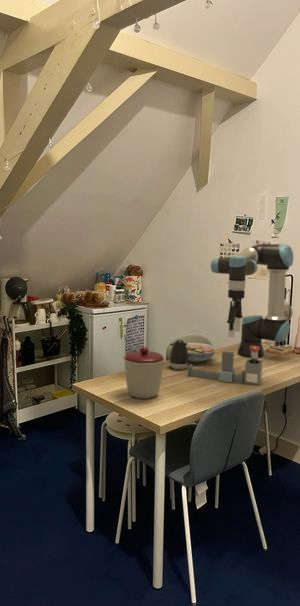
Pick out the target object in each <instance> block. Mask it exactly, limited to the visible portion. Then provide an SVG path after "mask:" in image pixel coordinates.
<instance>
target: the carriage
mask: <svg viewBox="0 0 300 606" xmlns="http://www.w3.org/2000/svg"><path fill="white" fill-rule="evenodd" d="M221 353H222V354H221V369H220V370H219V371H218V372H219V380H218V381H219V382H224V383H230V384H231V383H233V382H232V376H233V374H236V373H235V372H236V369H234V356H235V355H234V354H235V352H234V351H225V350H224V351H222V352H221Z"/></svg>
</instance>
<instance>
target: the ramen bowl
mask: <svg viewBox="0 0 300 606" xmlns="http://www.w3.org/2000/svg"><path fill="white" fill-rule="evenodd" d="M186 343H187V345H186V347H187V351H188V356H189V362H192V363H201V362H204V361H206V360H209V359H211V358H212V357H213V356H214V354H215V353H216V351H217V349H218V348H217V347H216V346H214V345H211V344H208V343H202V342H201V343H200V342H186ZM173 344H174V342H172V343H169V345H170V346H173Z"/></svg>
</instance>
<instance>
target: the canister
mask: <svg viewBox="0 0 300 606" xmlns="http://www.w3.org/2000/svg"><path fill="white" fill-rule="evenodd" d="M122 360H123V361H124V371H125V372H124V373H125V379H126V380H125V382H126V389H127V392H128V394H129V396H131V397H134V398H137V399H144V400H145V399H151V398H155V397H156V396H157V395H158V394H159V392H160V388H161V384H162V383H161V382H162V375H163V369H164V362H165V360H166V357H165V356H164V355H162V353H159V352H156V351H153V350H151V351H150V350H149V348H148V347H146V346H143V347H142V346H141V347H140V349H139V350H135V351H130V352H128V353H126V354H125V355H124V356H123V357H122Z"/></svg>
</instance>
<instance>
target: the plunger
mask: <svg viewBox="0 0 300 606" xmlns="http://www.w3.org/2000/svg"><path fill="white" fill-rule="evenodd" d="M250 350H251V358H250V359H251V362H253V363H257V362H258V360H259V358H258V350H260V346H256V345H251V346H250Z"/></svg>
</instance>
